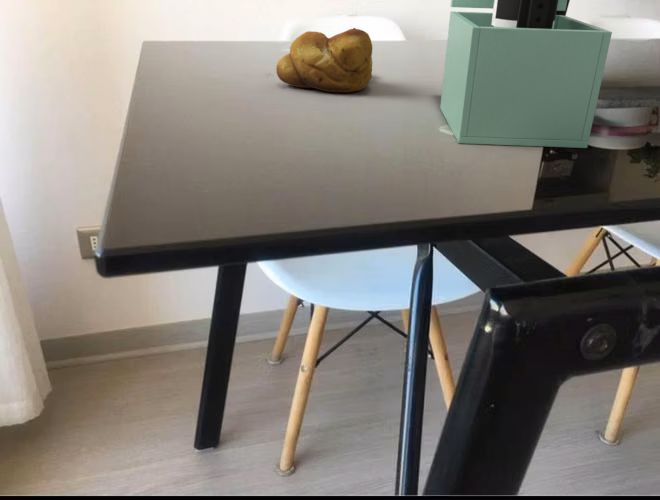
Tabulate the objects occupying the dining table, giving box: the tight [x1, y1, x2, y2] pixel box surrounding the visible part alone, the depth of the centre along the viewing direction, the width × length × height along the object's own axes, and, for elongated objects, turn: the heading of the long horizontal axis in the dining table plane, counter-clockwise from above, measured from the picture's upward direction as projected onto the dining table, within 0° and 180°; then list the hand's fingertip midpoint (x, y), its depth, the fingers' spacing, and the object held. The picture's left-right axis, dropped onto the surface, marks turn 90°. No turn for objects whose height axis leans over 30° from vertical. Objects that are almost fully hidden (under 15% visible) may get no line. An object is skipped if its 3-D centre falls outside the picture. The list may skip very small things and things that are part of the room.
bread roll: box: [275, 27, 373, 93], centre depth 81 cm, size 13×10×8 cm
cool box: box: [439, 11, 613, 149], centre depth 65 cm, size 14×12×11 cm
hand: (521, 32), depth 63 cm, fingers closed on medicine bottle, 7 cm apart
